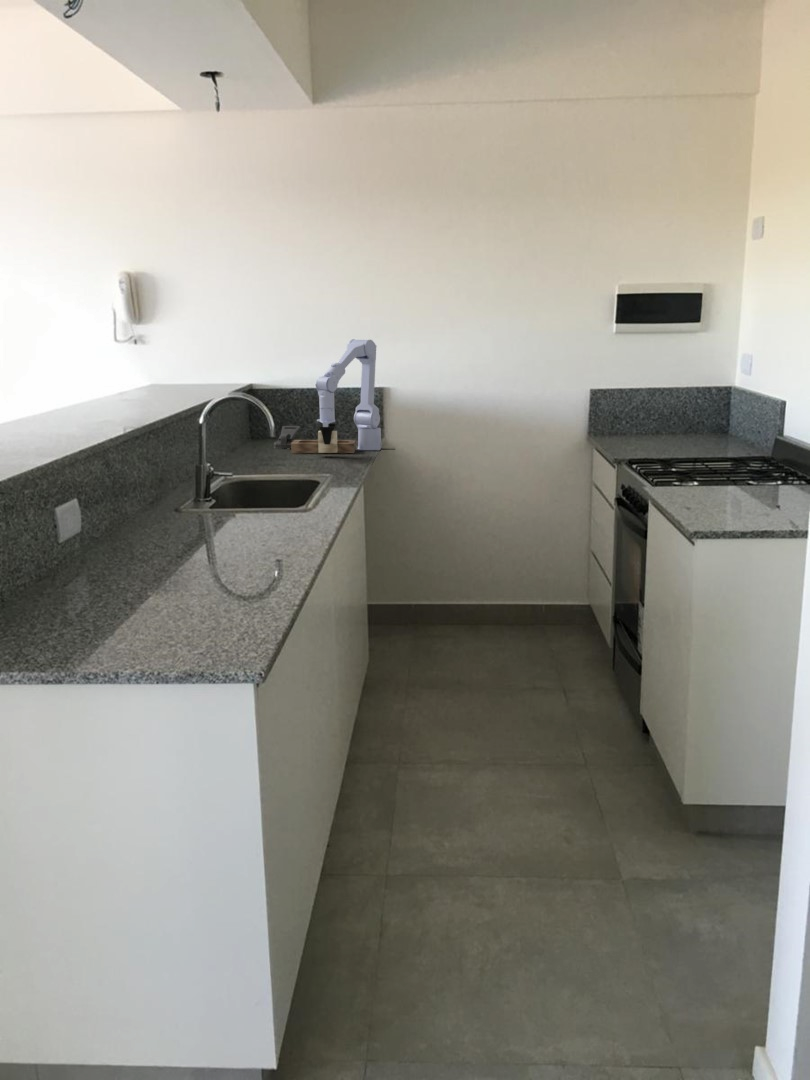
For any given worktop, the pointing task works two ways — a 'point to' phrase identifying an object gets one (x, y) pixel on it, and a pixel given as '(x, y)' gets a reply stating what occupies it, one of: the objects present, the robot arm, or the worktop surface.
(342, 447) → the wooden compartment tray
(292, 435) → the dark grey angled stand
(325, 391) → the robot arm
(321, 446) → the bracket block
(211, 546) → the worktop surface
